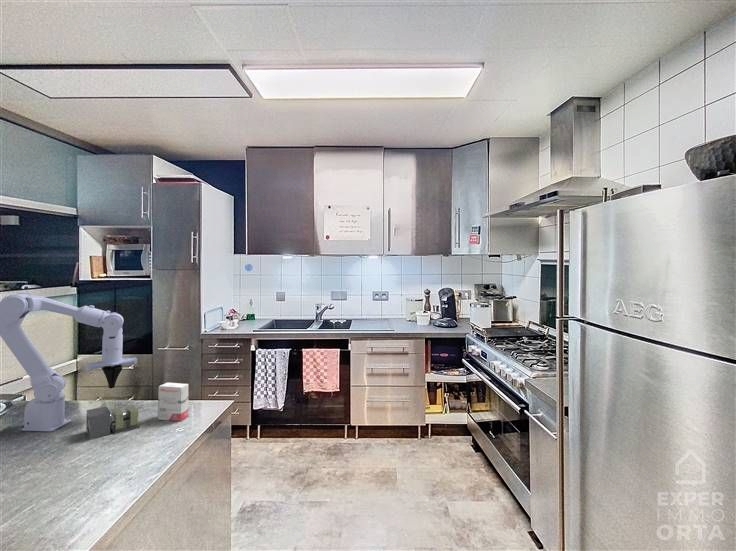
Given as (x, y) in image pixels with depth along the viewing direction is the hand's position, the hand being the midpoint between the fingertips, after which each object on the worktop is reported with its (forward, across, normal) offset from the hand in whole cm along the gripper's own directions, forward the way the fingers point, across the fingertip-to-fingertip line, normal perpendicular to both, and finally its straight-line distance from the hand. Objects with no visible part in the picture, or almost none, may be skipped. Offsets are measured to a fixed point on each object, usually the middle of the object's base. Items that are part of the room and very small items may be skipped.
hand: (111, 387), depth 124 cm
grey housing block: (+10, -5, -11) cm, 16 cm away
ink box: (+11, +16, -14) cm, 24 cm away
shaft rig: (+10, -1, -11) cm, 15 cm away
